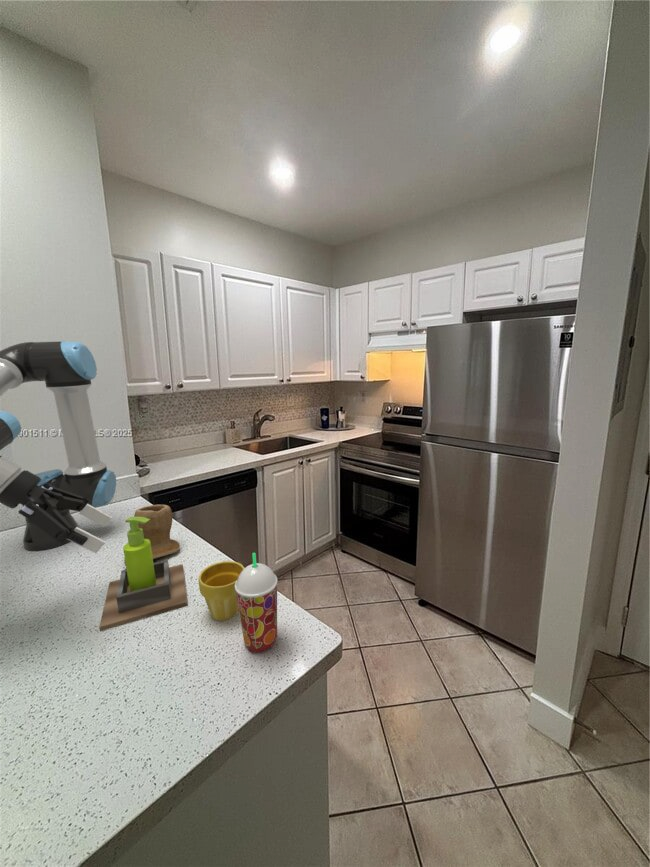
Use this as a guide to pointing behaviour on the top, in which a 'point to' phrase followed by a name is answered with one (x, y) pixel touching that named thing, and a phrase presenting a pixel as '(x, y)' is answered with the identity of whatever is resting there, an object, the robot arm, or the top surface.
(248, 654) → the top surface
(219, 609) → the plant pot
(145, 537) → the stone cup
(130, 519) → the soap dispenser
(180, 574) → the dispenser stand
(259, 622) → the smoothie
